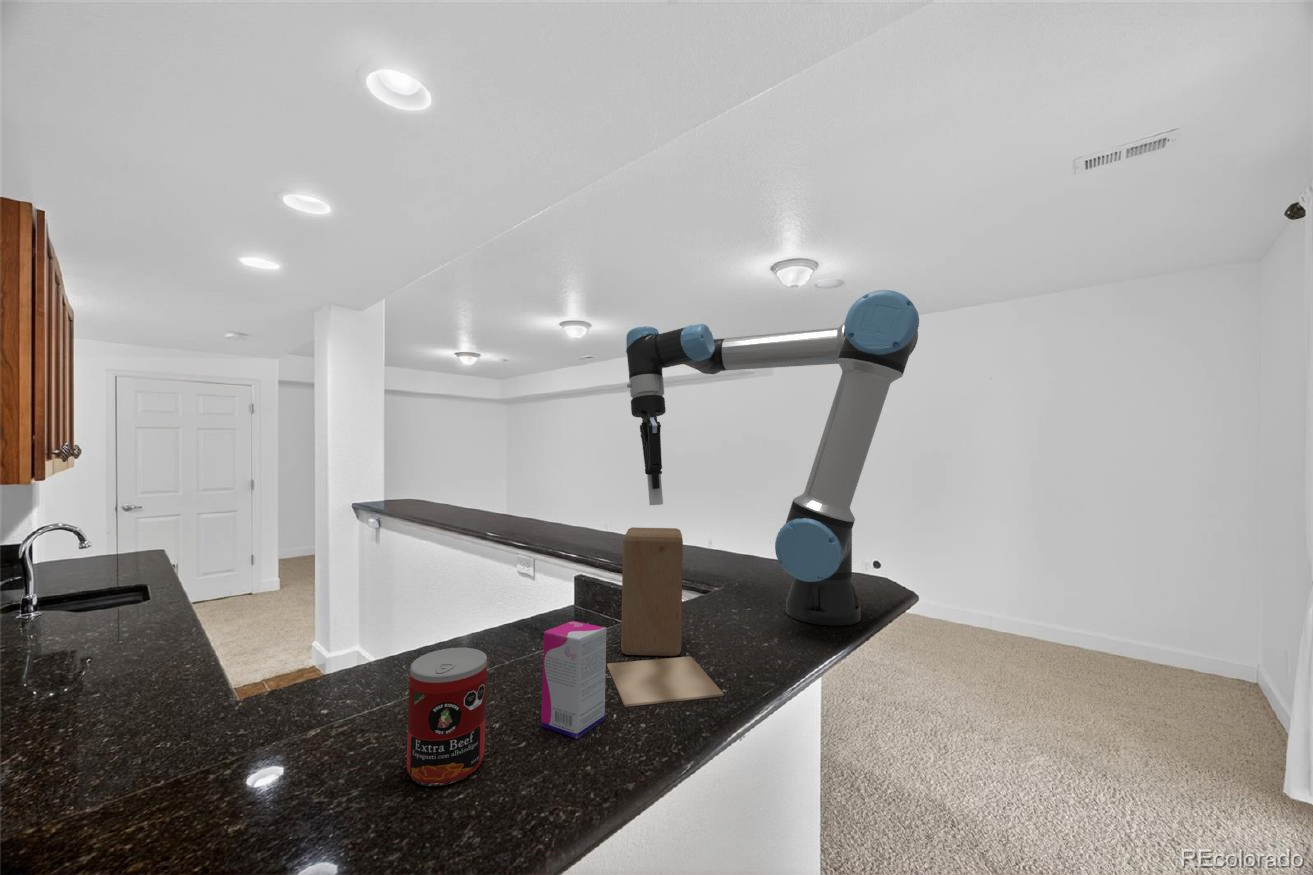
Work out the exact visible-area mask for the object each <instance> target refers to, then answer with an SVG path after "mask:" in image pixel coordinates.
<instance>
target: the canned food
mask: <svg viewBox="0 0 1313 875" xmlns="http://www.w3.org/2000/svg"><path fill="white" fill-rule="evenodd" d="M487 677H488V660H487V654H486V653H485V652H483V650H480V649H476V648H472V647H450V648H443V649H437V650H434V651H431V652H427V653H425V654H423V655H421V656H420V657H417V658H416V659H415V660H413V662H412V663H411V664H410V670H409V681H408V682H409V683H408V707H407V708H408V710H407V712H408V714H407V719H408V720H407V741H406V742H407V743H406V744H407V745H406V770H407V774H408V773H409V774H408V776H409V775H410V776H411V777H412V778H413V779H415V780H417V781H420V782H423V783H447V782H450V781H452V780H456V779H459V778H463V777H465V776H466V775H468V774H471V773H472V772H473V771H474V770H475V769H477V768H478V767H479V768H480V766H481V765H480V764H482V761H483V758H484V755H485V746H486V745H485V744H486V714H487V713H486V712H487V711H486V710H487V687H488V686H487V685H488V684H487V683H488V678H487ZM479 765H480V766H479ZM479 768H478V769H479ZM478 769H477V770H478ZM471 775H472V774H471Z"/></svg>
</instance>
